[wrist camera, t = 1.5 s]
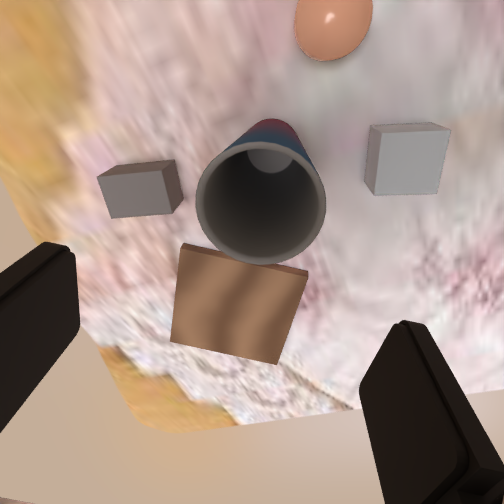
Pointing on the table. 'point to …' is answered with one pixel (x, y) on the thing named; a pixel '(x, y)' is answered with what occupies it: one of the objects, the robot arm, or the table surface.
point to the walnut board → (234, 304)
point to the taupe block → (141, 189)
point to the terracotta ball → (331, 26)
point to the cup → (262, 196)
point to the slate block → (405, 158)
